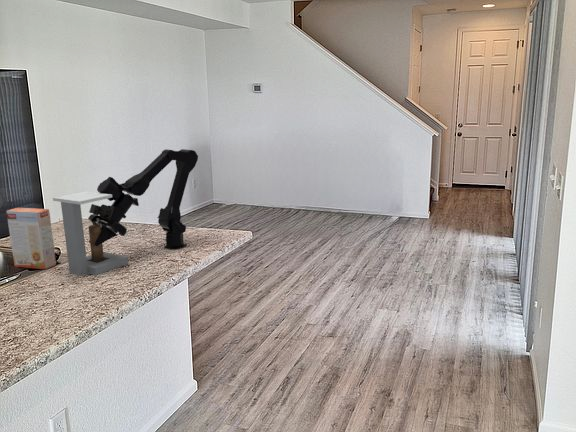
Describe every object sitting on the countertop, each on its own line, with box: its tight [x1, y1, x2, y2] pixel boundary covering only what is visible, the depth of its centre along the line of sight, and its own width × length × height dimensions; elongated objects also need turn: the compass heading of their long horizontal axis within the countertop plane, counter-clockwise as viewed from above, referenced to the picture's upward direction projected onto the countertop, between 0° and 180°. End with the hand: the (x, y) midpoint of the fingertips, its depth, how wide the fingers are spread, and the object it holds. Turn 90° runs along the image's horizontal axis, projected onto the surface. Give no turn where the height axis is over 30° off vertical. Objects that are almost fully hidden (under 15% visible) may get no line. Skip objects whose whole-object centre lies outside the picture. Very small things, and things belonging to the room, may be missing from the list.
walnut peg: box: [87, 224, 104, 263], centre depth 185 cm, size 4×4×13 cm
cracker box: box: [6, 207, 57, 270], centre depth 186 cm, size 14×6×21 cm, turn 71°
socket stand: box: [52, 191, 129, 277], centre depth 183 cm, size 17×14×26 cm
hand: (92, 244), depth 184 cm, fingers closed on walnut peg, 4 cm apart
